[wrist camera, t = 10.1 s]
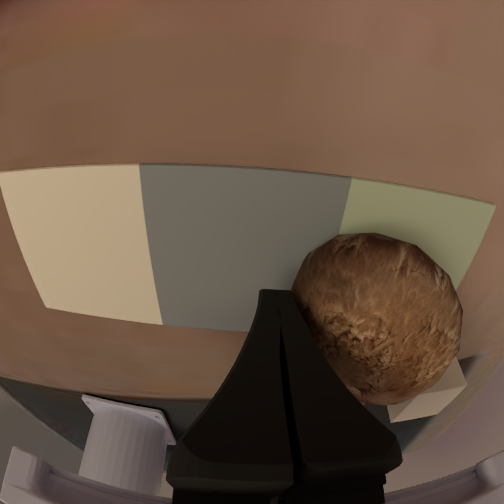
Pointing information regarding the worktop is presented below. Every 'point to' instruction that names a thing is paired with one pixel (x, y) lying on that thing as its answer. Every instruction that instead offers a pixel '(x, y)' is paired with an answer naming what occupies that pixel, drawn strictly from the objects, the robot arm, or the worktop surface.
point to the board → (210, 234)
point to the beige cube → (431, 396)
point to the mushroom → (380, 315)
